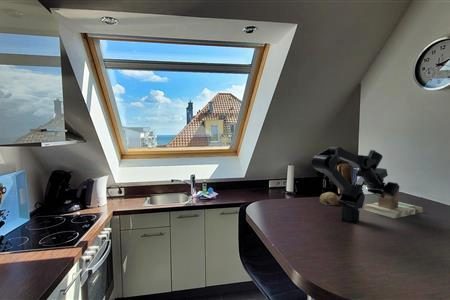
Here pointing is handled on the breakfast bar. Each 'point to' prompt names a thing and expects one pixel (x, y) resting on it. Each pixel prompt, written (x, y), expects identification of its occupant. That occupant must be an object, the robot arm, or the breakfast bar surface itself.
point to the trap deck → (394, 210)
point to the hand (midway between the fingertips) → (383, 197)
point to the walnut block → (389, 201)
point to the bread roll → (329, 198)
